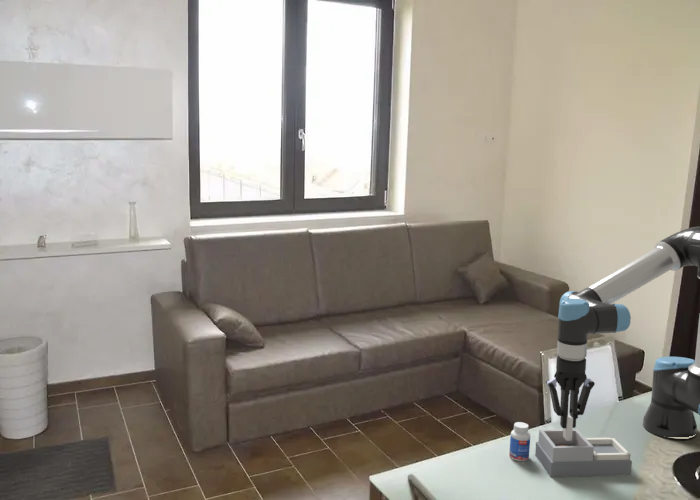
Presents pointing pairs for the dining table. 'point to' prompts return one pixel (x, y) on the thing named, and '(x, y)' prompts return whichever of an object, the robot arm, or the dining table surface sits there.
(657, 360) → the robot arm
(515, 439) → the pill bottle
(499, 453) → the dining table surface
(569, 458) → the grey compartment organizer
